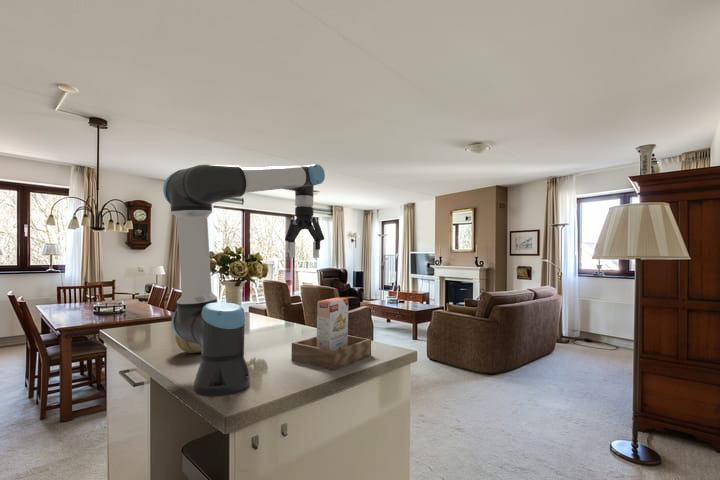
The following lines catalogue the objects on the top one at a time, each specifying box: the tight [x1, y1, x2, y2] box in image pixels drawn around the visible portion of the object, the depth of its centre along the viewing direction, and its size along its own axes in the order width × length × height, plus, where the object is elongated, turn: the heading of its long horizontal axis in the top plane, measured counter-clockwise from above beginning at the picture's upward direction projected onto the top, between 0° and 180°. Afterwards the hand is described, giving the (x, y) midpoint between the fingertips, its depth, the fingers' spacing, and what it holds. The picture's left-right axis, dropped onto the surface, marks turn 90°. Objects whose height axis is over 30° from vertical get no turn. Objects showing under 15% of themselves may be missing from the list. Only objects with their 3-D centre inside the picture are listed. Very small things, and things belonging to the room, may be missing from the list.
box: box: [291, 334, 372, 371], centre depth 133 cm, size 22×20×6 cm
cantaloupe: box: [174, 334, 201, 354], centre depth 139 cm, size 15×15×15 cm
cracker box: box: [316, 297, 349, 351], centre depth 133 cm, size 14×6×21 cm, turn 154°
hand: (303, 257), depth 149 cm, fingers open, 13 cm apart
